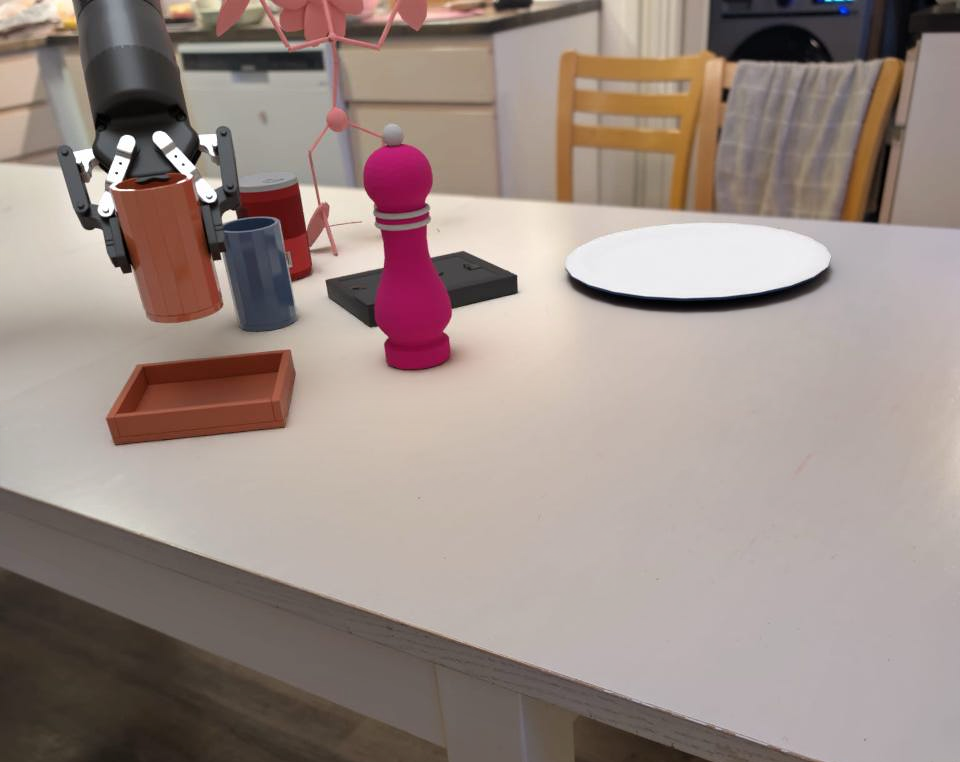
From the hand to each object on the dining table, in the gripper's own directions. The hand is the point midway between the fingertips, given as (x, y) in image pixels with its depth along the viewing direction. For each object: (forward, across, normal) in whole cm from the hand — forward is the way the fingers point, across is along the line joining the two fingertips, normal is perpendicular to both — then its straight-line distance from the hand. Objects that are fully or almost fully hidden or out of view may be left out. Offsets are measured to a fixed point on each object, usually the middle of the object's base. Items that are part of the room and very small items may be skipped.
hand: (171, 261), depth 75 cm
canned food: (-20, +10, +39) cm, 45 cm away
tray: (+8, 0, +10) cm, 13 cm away
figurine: (-29, +20, +48) cm, 60 cm away
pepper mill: (+6, +20, +13) cm, 24 cm away
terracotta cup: (+2, 0, +4) cm, 5 cm away
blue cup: (-8, +7, +26) cm, 28 cm away
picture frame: (-8, +24, +27) cm, 37 cm away
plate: (-4, +55, +23) cm, 59 cm away
